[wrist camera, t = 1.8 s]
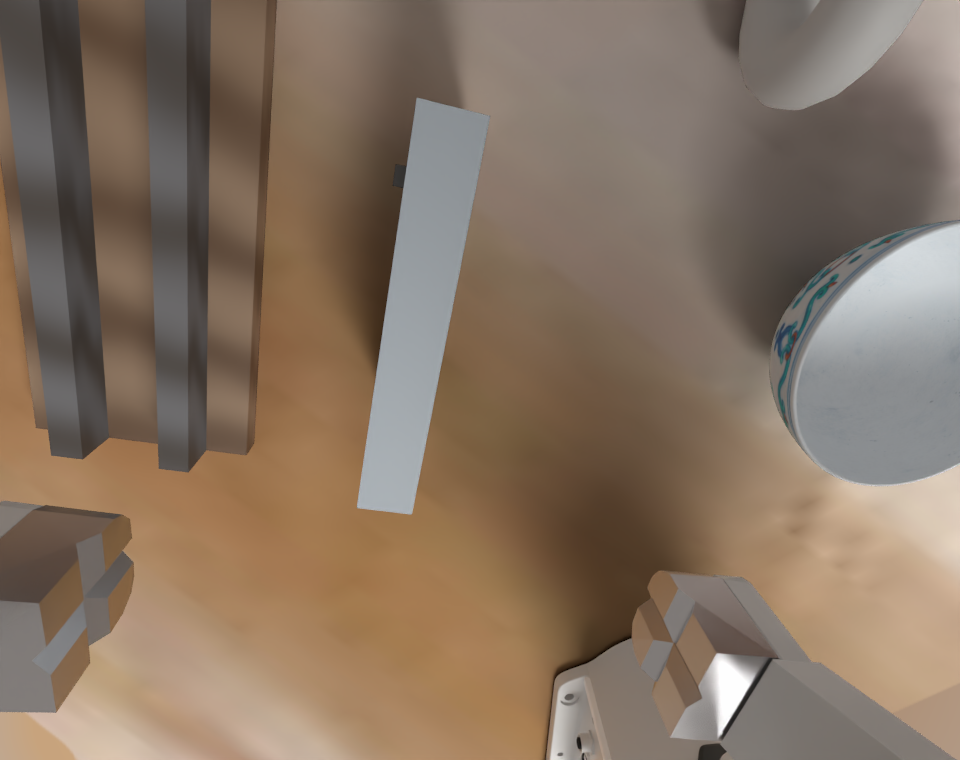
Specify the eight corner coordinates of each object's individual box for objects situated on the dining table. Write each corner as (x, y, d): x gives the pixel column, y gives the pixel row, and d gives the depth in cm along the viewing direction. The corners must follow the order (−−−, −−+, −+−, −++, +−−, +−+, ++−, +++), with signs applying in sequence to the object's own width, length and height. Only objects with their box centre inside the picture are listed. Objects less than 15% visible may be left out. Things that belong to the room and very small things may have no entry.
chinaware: (698, 261, 31) (777, 288, 24) (938, 169, 30) (1093, 169, 23) (735, 453, 37) (807, 520, 30) (936, 381, 36) (1059, 433, 29)
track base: (253, 443, 33) (231, 477, 30) (53, 416, 31) (3, 449, 28) (278, -29, 24) (249, -65, 20) (-8, -109, 22) (-97, -165, 18)
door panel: (419, 399, 33) (411, 514, 22) (373, 392, 33) (342, 506, 22) (467, 137, 27) (490, 116, 16) (412, 123, 27) (397, 92, 16)
